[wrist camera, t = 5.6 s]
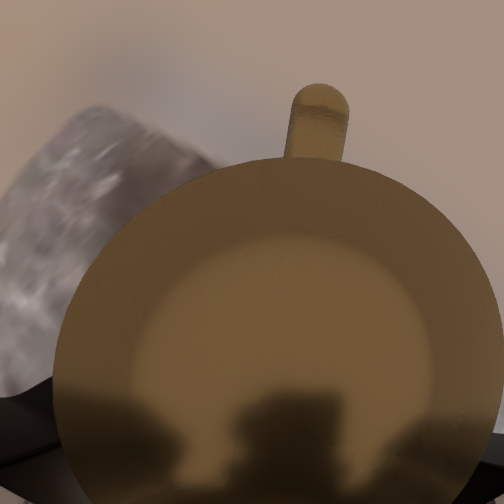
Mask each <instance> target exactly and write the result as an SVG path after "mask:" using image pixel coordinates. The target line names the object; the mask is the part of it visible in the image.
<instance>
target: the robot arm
mask: <svg viewBox="0 0 504 504" xmlns="http://www.w3.org/2000/svg"><path fill="white" fill-rule="evenodd" d="M0 504H92V503H91V502H90V500H89V499H88V497H87V496H86V495H85V493H84V492H83V490H82V488H81V487H80V485H79V483H78V481H77V479H76V478H75V476H74V474H73V472H72V470H71V468H70V466H69V463H68V461H67V458H66V456H65V453H64V450H63V447H62V444H61V441H60V438H59V434H58V429H57V424H56V419H55V413H54V407H53V376H51V377H50V378H48V379H46V380H44V381H43V382H41V383H39V384H38V385H36V386H34V387H32V388H31V389H29V390H27V391H25V392H23V393H21V394H19V395H16V396H12V397H5V398H0ZM451 504H504V434H499V433H492V435H491V437H490V440H489V443H488V445H487V447H486V449H485V451H484V454H483V456H482V458H481V460H480V462H479V464H478V466H477V467H476V469H475V471H474V472H473V474H472V476H471V477H470V479H469V480H468V482H467V483H466V485H465V486H464V488H463V489H462V491H461V492H460V493H459V494H458V496H457V497H456V498H455V499H454V501H453V502H452V503H451Z"/></svg>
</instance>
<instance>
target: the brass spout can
mask: <svg viewBox="0 0 504 504" xmlns="http://www.w3.org/2000/svg"><path fill="white" fill-rule="evenodd" d="M348 120H349V107H348V103H347V101H346V99H345V97H344V96H343V95H342V94H341V93H340V92H339V91H338V90H337V89H335V88H334V87H332V86H329V85H327V84H312V85H308V86H306V87H304V88H303V89H302V90H300V91H299V92H298V93H297V95H296V96H295V98H294V100H293V103H292V108H291V115H290V121H289V127H288V133H287V139H286V146H285V151H284V157H282V158H273V159H264V160H255V161H250V162H246V163H242V164H238V165H234V166H230V167H226V168H222V169H219V170H216V171H214V172H211V173H209V174H206V175H204V176H201V177H199V178H196V179H194V180H191V181H189V182H187V183H185V184H183V185H181V186H180V187H178V188H176V189H174V190H173V191H171V192H169V193H167V194H166V195H164V196H162V197H161V198H159V199H157V200H156V201H154V202H153V203H152V204H151V205H149V206H148V207H147V208H145V209H144V210H143V211H141V212H140V213H139V214H138V215H136V216H135V217H134V218H133V219H131V220H130V221H129V222H128V223H127V224H126V225H125V226H124V227H123V228H122V229H121V230H120V231H119V232H118V233H117V234H116V235H115V236H114V237H113V238H112V239H111V240H110V242H109V243H108V244H107V245H106V246H105V247H104V248H103V249H102V251H101V252H100V253H99V255H98V256H97V258H96V259H95V260H94V262H93V263H92V265H91V266H90V268H89V269H88V270H87V272H86V273H85V275H84V276H83V278H82V280H81V282H80V284H79V286H78V288H77V290H76V292H75V294H74V296H73V298H72V300H71V302H70V304H69V306H68V308H67V311H66V314H65V317H64V321H63V324H62V327H61V330H60V334H59V337H58V341H57V346H56V353H55V360H54V367H53V407H54V413H55V419H56V424H57V429H58V434H59V438H60V441H61V444H62V447H63V450H64V453H65V456H66V458H67V461H68V463H69V466H70V468H71V470H72V472H73V474H74V476H75V478H76V479H77V481H78V483H79V485H80V487H81V488H82V490H83V492H84V493H85V495H86V496H87V497H88V499H89V500H90V502H91V503H92V504H451V503H452V502H453V501H454V499H455V498H456V497H457V496H458V494H459V493H460V492H461V491H462V489H463V488H464V486H465V485H466V483H467V482H468V480H469V479H470V477H471V476H472V474H473V472H474V471H475V469H476V467H477V466H478V464H479V462H480V460H481V458H482V456H483V454H484V451H485V449H486V447H487V445H488V443H489V440H490V437H491V435H492V432H493V429H494V426H495V423H496V420H497V416H498V412H499V408H500V403H501V398H502V392H503V384H504V336H503V328H502V322H501V318H500V314H499V309H498V305H497V301H496V298H495V295H494V293H493V290H492V287H491V285H490V282H489V279H488V277H487V275H486V273H485V271H484V269H483V267H482V265H481V263H480V261H479V260H478V258H477V256H476V255H475V253H474V251H473V250H472V248H471V247H470V245H469V244H468V243H467V241H466V240H465V238H464V237H463V236H462V234H461V233H460V232H459V231H458V230H457V228H456V227H455V226H454V225H453V224H452V223H451V222H450V221H449V220H448V219H447V218H446V217H445V216H444V215H443V214H442V213H441V212H440V211H439V210H438V209H437V208H435V207H434V206H433V205H432V204H430V203H429V202H428V201H427V200H426V199H424V198H423V197H422V196H420V195H419V194H417V193H415V192H414V191H412V190H411V189H409V188H408V187H406V186H404V185H403V184H401V183H399V182H397V181H395V180H393V179H391V178H389V177H386V176H384V175H382V174H380V173H377V172H375V171H372V170H369V169H366V168H362V167H359V166H356V165H353V164H349V163H345V162H341V160H342V154H343V149H344V143H345V138H346V132H347V126H348Z"/></svg>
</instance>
